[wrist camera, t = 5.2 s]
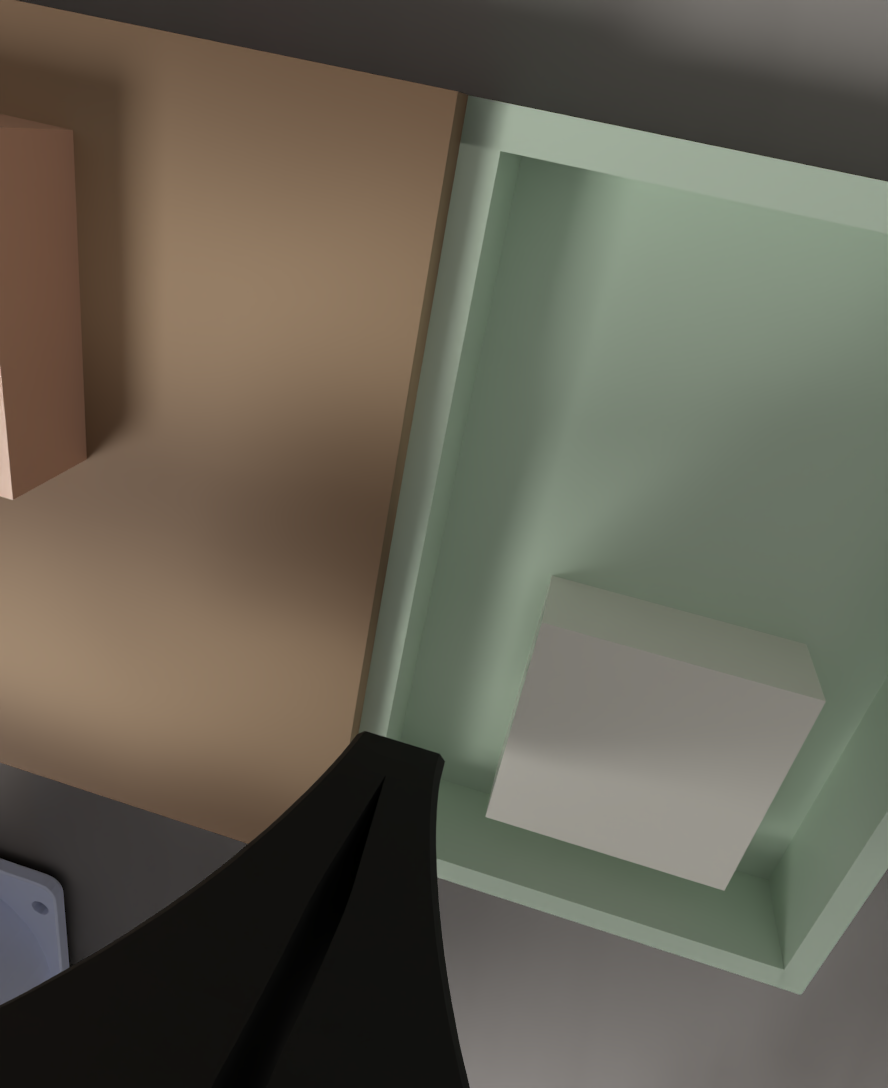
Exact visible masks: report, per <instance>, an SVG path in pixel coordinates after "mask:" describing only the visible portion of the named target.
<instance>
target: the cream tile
mask: <svg viewBox="0 0 888 1088" xmlns="http://www.w3.org/2000/svg"><path fill="white" fill-rule="evenodd" d="M825 702H826V700H825V697H824V694H823V691H822V688H821V685H820V682H819V679H818V676H817V673H816V670H815V667H814V665H813V662H812V659H811V656H810V653H809V650H808V647H807V644H804V643H800V642H796V641H793V640H789V639H785V638H782V637H778V636H774V635H770V634H767V633H763V632H759V631H756V630H752V629H748V628H745V627H741V626H737V625H733V624H730V623H726V622H722V621H719V620H715V619H711V618H708V617H704V616H700V615H696V614H693V613H689V612H685V611H682V610H678V609H674V608H671V607H667V606H663V605H659V604H656V603H652V602H648V601H645V600H641V599H637V598H634V597H630V596H626V595H622V594H619V593H615V592H611V591H608V590H604V589H600V588H597V587H593V586H589V585H585V584H582V583H578V582H574V581H571V580H567V579H563V578H560V577H556V576H551V580H550V583H549V587H548V590H547V594H546V597H545V600H544V604H543V607H542V611H541V614H540V618H539V621H538V625H537V628H536V632H535V635H534V639H533V642H532V646H531V649H530V653H529V656H528V659H527V663H526V666H525V670H524V673H523V677H522V680H521V684H520V687H519V691H518V694H517V698H516V701H515V705H514V708H513V712H512V715H511V718H510V722H509V725H508V729H507V732H506V736H505V739H504V743H503V746H502V750H501V753H500V757H499V760H498V765H497V769H496V773H495V777H494V782H493V786H492V790H491V795H490V799H489V803H488V807H487V812H486V816H485V817H487V818H490V819H494V820H497V821H500V822H503V823H507V824H510V825H513V826H516V827H520V828H523V829H526V830H529V831H532V832H536V833H539V834H542V835H545V836H549V837H552V838H555V839H558V840H562V841H565V842H568V843H571V844H575V845H578V846H581V847H584V848H587V849H591V850H594V851H597V852H600V853H604V854H607V855H610V856H613V857H617V858H620V859H623V860H626V861H630V862H633V863H636V864H639V865H642V866H646V867H649V868H652V869H655V870H659V871H662V872H665V873H668V874H672V875H675V876H678V877H681V878H685V879H688V880H691V881H694V882H697V883H701V884H704V885H707V886H710V887H714V888H717V889H720V890H723V891H724V890H725V889H726V887H727V885H728V883H729V881H730V879H731V877H732V876H733V874H734V872H735V870H736V868H737V866H738V864H739V862H740V861H741V859H742V857H743V855H744V853H745V851H746V849H747V848H748V846H749V844H750V842H751V840H752V838H753V836H754V835H755V833H756V831H757V829H758V827H759V825H760V823H761V821H762V820H763V818H764V816H765V814H766V812H767V810H768V808H769V807H770V805H771V803H772V801H773V799H774V797H775V795H776V794H777V792H778V790H779V788H780V786H781V784H782V782H783V780H784V779H785V777H786V775H787V773H788V771H789V769H790V767H791V766H792V764H793V762H794V760H795V758H796V756H797V754H798V752H799V751H800V749H801V747H802V745H803V743H804V741H805V739H806V738H807V736H808V734H809V732H810V730H811V728H812V726H813V725H814V723H815V721H816V719H817V717H818V715H819V713H820V711H821V710H822V708H823V706H824V704H825Z"/></svg>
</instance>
